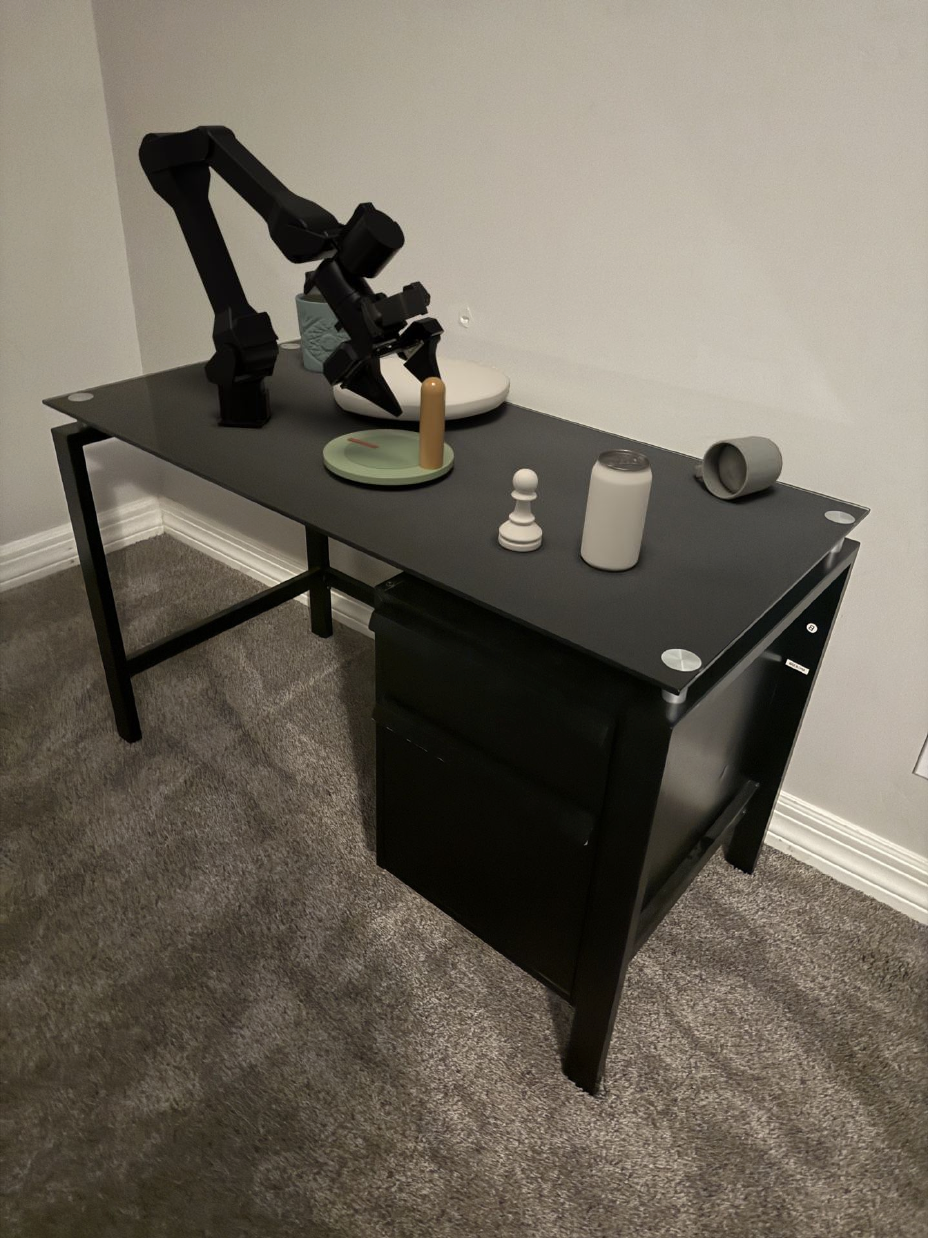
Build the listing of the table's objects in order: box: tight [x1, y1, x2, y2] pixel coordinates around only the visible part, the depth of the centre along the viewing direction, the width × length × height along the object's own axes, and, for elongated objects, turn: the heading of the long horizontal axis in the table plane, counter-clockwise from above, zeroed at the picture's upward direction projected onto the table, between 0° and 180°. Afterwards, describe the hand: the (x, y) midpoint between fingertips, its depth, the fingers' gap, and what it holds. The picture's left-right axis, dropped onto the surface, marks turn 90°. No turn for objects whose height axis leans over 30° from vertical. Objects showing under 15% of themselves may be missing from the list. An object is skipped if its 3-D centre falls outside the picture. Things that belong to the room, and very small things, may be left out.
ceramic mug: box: [694, 435, 784, 500], centre depth 116 cm, size 11×8×8 cm
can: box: [580, 449, 653, 572], centre depth 96 cm, size 6×6×12 cm
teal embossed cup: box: [294, 292, 351, 374], centre depth 153 cm, size 10×10×12 cm
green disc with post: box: [322, 377, 455, 486], centre depth 115 cm, size 18×18×13 cm
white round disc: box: [332, 356, 511, 422], centre depth 139 cm, size 28×6×27 cm
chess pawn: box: [497, 468, 543, 553], centre depth 99 cm, size 5×5×9 cm
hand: (422, 405), depth 111 cm, fingers open, 9 cm apart
